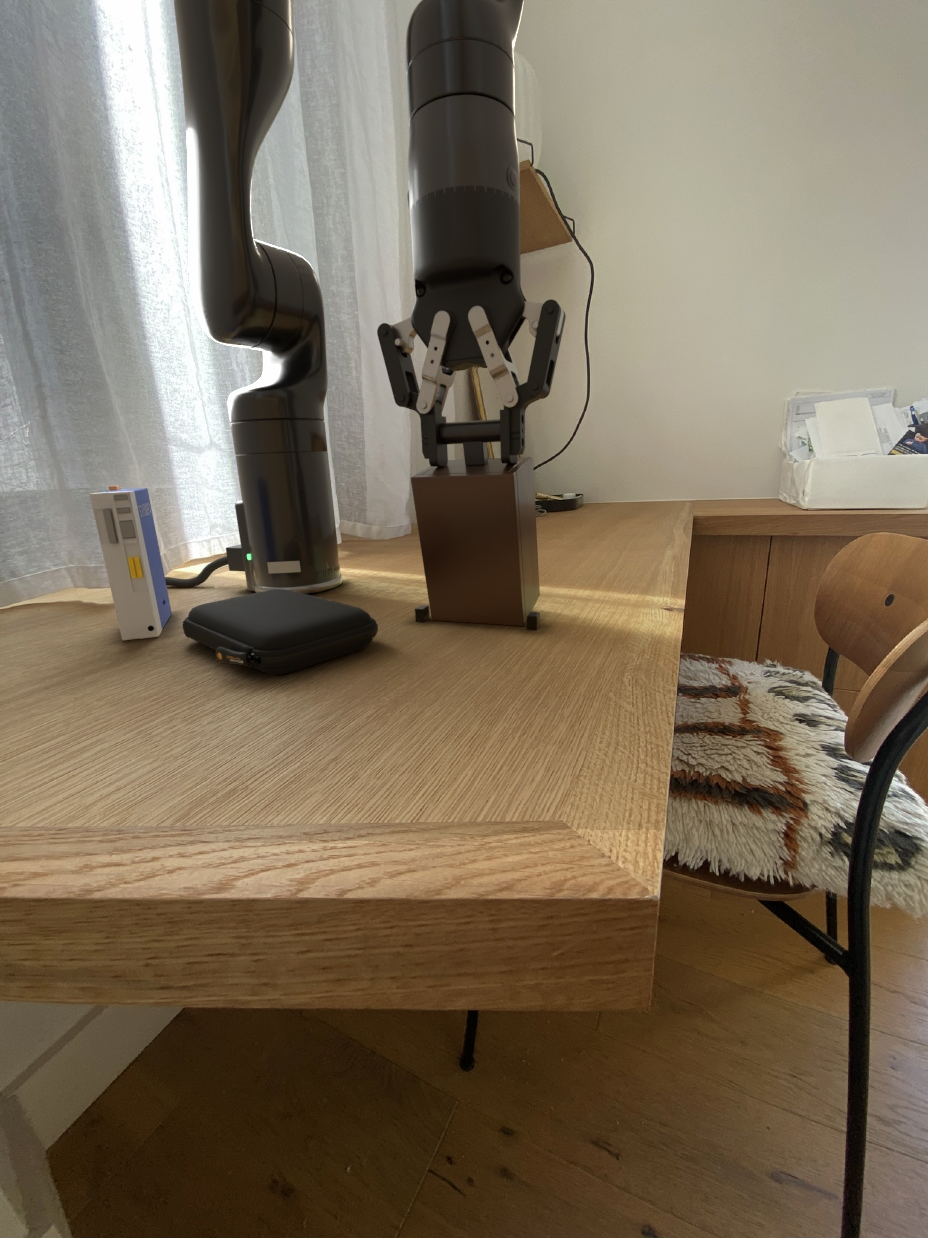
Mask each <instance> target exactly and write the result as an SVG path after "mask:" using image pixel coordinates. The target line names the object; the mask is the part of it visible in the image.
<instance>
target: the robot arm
mask: <svg viewBox="0 0 928 1238" xmlns="http://www.w3.org/2000/svg"><path fill="white" fill-rule="evenodd" d="M524 3H525V0H420V1H419V2H418V4H417V5H416V6H415V7H414V9H413V11H412V13H411V15H410V18H409V21H408V24H407V27H406V34H405V73H406V91H407V92H406V94H407V95H406V96H407V112H408V152H407V153H408V154H407V181H408V182H407V183H408V190H407V206H408V209H409V221H410V235H411V236H410V237H411V257H412V258H411V259H412V275H413V276H412V277H413V284H414V291H415V300H414V304H413V307H412V310H411V313H410V317H408V318H405V319H404V320H401V321H399V322H397V323H394V324H389V323H387V322H383V323H381V324H379V326H378V327H377V330H376V335H377V337H378V342H379V347H380V350H381V354H382V357H383V362H384V365H385V369H386V373H387V377H388V380H389V384H390V388H391V393H392V396H393V399H394V402H395V404H396V406H398V407H400V408H405V409H408V410H411V411H413V412H416V413H417V414H418V417H419V419H420V436H421V453H422V455H423V458H424V459H425V460H428V463H429V466H431V467H436V466H446V465H447V464H448V460H449V452H448V451H449V450H448V444H446V445H444V444H443V443H442V442H441V439H440V426H441V424H442V423H447V416H443V411H444V408H445V404H446V401H447V397H448V394H449V390H450V388H451V387H452V386H453V384H454V382H455V378H456V375H457V372H459V371H466V370H468V369H472V368H473V367H477V368H481V369H487V370H488V372H489V376H491V378H492V380H493V381H494V384H495V388H496V390H497V392H498V395H499V397H500V400H501V403H502V404H503V409H499V419H500V442H499V444H500V458H501V462H502V464H505V463H517V457H518V456H519V455H521V456H522V455H523V454H524V452H525V449H526V410H527V408H528V407H529V405H531V404H533V403H534V402H537V401H539V400H543V399H546V398H547V397H549V395H550V393H551V390H552V386H553V385H552V384H553V380H554V377H555V376H554V375H555V370H556V366H557V362H558V356H559V352H560V346H561V342H562V337H563V331H564V328H565V323H566V319H567V318H566V317H567V316H566V312H565V310H564V309H563V308H562V307H561V305H560V304H559V302H558V301H556V300H555V299H550V298H549V299H547V300H546V301H544V302H543V303H542V302H534V301H528V300H527V299H526V297H525V295H524V293H523V290H522V287H521V286H522V285H521V279H522V278H521V270H522V269H521V191H520V190H521V185H520V183H521V182H520V177H521V175H520V172H521V171H520V155H519V147H518V140H517V139H518V138H517V130H516V82H515V81H516V80H515V79H516V77H515V76H516V75H515V71H516V69H515V46H516V42H517V37H518V32H519V28H520V24H521V20H522V15H523V8H524ZM173 5H174V6H173V8H174V9H173V10H174V17H175V26H176V35H177V41H178V51H179V61H180V69H181V82H182V83H181V84H182V94H183V107H184V119H185V120H184V121H185V136H186V150H187V151H186V154H187V203H188V204H187V215H188V217H187V220H188V221H187V223H188V225H187V227H188V231H187V232H188V236H187V237H188V239H187V240H188V241H187V242H188V243H187V244H188V271H189V273H188V274H189V284H190V286H189V287H190V293H191V299H192V304H193V307H194V311H195V315H196V318H197V320H198V322H199V324H200V327H201V328H202V330H203V331H204V332H205V333H206V335H207V336H208V337H209V338H210V339H211V340H213V341H214V342H216V343H219V344H222V345H225V346H231V347H237V348H244V349H248V350H257V351H262V374H261V377H260V378H259V379H258V380H256V381H255V382H254V383H252V384H250V385H248V386H245V387H242V388H239V389H236V390H233V391H232V392H231V393H230V394H229V396H228V398H227V409H228V416H229V422H230V429H231V436H232V444H233V449H234V455H235V463H236V470H237V476H238V481H239V489H240V495H241V496H240V497H241V499H240V500H237V501H236V502H235V504H234V509H235V517H236V522H237V529H238V530H237V531H238V535H239V536H238V537H239V543H240V544H235V545H231V546H227V547H225V553H226V555H225V556H223V557H220V558H217V559H215V560H213V561H210V563H208V564H207V565H205V566H204V567H203V568H202V570H201V571H200V573H199V574H198V575H197V576H195V577H191V578H177V577H170V576H165V581H166V586H168V587H175V588H194V587H197V586H199V585H202V584H203V583H205V582H206V581H207V580H208V579H209V577H211V575H212V574H213V573H214V572H215V571H216V570H218V569H221V568H223V567H225V566H228V570H229V572H244V575H245V581H246V587H247V588H246V589H247V591H253V592H255V593H259V592H264V591H268V590H274V589H284V590H290V591H294V592H298V593H303V594H307V595H309V594H315V593H320V592H324V591H327V590H328V591H329V590H332V589H334V588H336V587H338V586H340V585H341V584H343V576H342V573H341V563H340V557H339V556H340V555H339V546H338V535H337V527H336V518H335V517H336V516H335V508H334V507H335V505H334V499H333V498H334V497H333V489H332V479H331V478H332V477H331V470H330V469H331V468H330V460H329V452H328V451H329V450H328V442H327V432H326V431H327V430H326V423H325V408H324V406H325V401H326V397H327V393H328V385H329V376H328V375H329V373H328V360H327V359H328V357H327V339H326V338H327V337H326V321H325V320H326V319H325V308H324V300H323V299H324V298H323V294H322V293H323V292H322V289H321V285H320V283H319V279H318V276H317V274H316V272H315V270H314V268H313V266H312V265H311V263H310V262H309V261H308V260H307V259H305V257H303V256H302V255H300V254H299V253H296V252H294V251H291V250H289V249H285V248H283V247H279V246H276V245H273V244H270V243H267V242H265V241H262V240H258V239H256V238H254V231H253V223H252V182H253V181H252V180H253V174H254V173H253V172H254V167H255V163H256V160H257V156H258V153H259V151H260V149H261V147H262V145H263V143H264V141H265V139H266V137H267V135H268V133H269V131H270V129H271V128H272V125H273V124H274V122H275V121H276V118H277V117H278V115H279V113H280V111H281V109H282V107H283V105H284V102H285V100H286V98H287V95H288V93H289V90H290V87H291V85H292V81H293V77H294V74H295V73H294V70H295V48H296V47H295V46H296V45H295V19H294V18H295V17H294V13H295V12H294V0H173ZM526 320H527V321H528V330H529V334H531V336H533V337H534V338H535V340H534V344H533V349H532V355H531V359H530V364H529V365H530V366H529V370H528V376H527V381H526V382H524V383H521V381H520V378H519V371H518V369H517V366H516V364H515V360H514V358H513V354H512V352H511V351H510V350H511V349H510V347H511V345H512V343H513V341H514V339H515V338H516V336H517V335H518V333H519V331H520V329H521V328H522V326H523V324H524V323H525V321H526ZM416 336H418V337H419V339H420V340H421V342H422V343H423V344H424V346H425V347H426V354H425V357H424V361H423V366H422V369H421V379H422V380H421V384H420V386H419V382H418V379H417V374H416V371H415V367H414V363H413V359H412V355H411V354H412V353H413V352H414V349H415V338H416Z"/></svg>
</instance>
